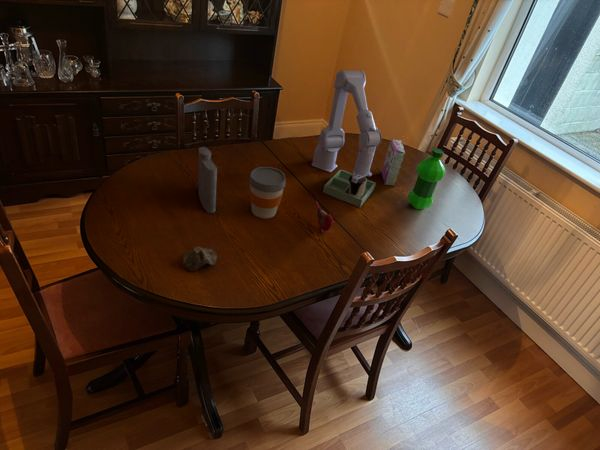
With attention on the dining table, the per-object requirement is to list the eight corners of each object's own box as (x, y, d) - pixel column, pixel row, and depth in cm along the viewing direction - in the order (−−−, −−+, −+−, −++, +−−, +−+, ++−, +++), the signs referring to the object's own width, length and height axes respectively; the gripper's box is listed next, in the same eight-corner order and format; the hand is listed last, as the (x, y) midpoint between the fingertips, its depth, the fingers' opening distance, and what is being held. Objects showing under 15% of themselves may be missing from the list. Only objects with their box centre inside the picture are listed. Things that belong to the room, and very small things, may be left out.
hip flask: (216, 212, 157) (218, 163, 145) (204, 214, 155) (205, 164, 143) (206, 188, 168) (207, 140, 156) (195, 189, 166) (195, 140, 154)
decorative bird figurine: (323, 244, 151) (328, 220, 146) (309, 213, 165) (313, 190, 159) (331, 243, 152) (337, 220, 146) (316, 213, 166) (321, 190, 160)
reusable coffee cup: (276, 224, 156) (281, 189, 147) (241, 216, 157) (245, 180, 148) (284, 205, 166) (289, 171, 157) (252, 198, 167) (255, 163, 158)
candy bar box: (380, 171, 198) (390, 138, 189) (391, 173, 199) (402, 140, 189) (383, 184, 189) (394, 150, 180) (395, 186, 190) (406, 152, 180)
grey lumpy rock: (214, 246, 139) (182, 252, 137) (214, 239, 132) (179, 246, 130) (219, 269, 136) (186, 276, 134) (218, 263, 130) (184, 271, 128)
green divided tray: (322, 192, 178) (324, 185, 175) (338, 176, 190) (340, 169, 188) (360, 207, 173) (362, 200, 171) (373, 189, 185) (376, 182, 183)
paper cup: (345, 196, 175) (350, 179, 170) (351, 190, 179) (355, 173, 174) (359, 201, 173) (364, 184, 169) (364, 195, 178) (369, 178, 173)
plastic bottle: (402, 206, 178) (421, 151, 163) (409, 195, 186) (428, 141, 171) (426, 216, 175) (448, 160, 160) (432, 204, 183) (454, 150, 168)
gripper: (367, 171, 160) (359, 202, 168) (380, 156, 171) (371, 186, 179) (349, 164, 162) (342, 195, 170) (363, 150, 173) (355, 180, 181)
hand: (356, 190), depth 175 cm, fingers closed on paper cup, 6 cm apart
